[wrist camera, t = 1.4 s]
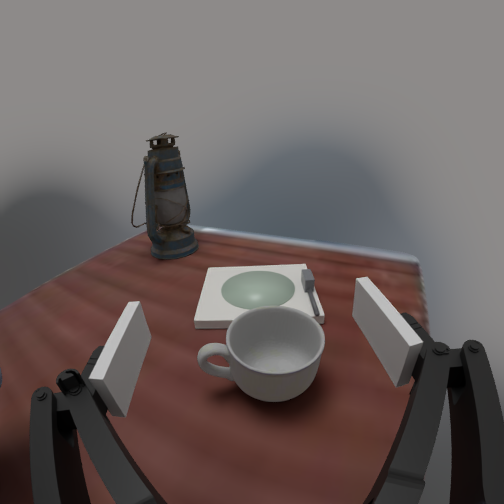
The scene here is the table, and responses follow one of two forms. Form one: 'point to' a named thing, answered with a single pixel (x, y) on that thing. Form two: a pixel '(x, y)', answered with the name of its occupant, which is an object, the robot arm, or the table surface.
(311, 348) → the teacup
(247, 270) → the record player
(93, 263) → the table surface
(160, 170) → the lantern
